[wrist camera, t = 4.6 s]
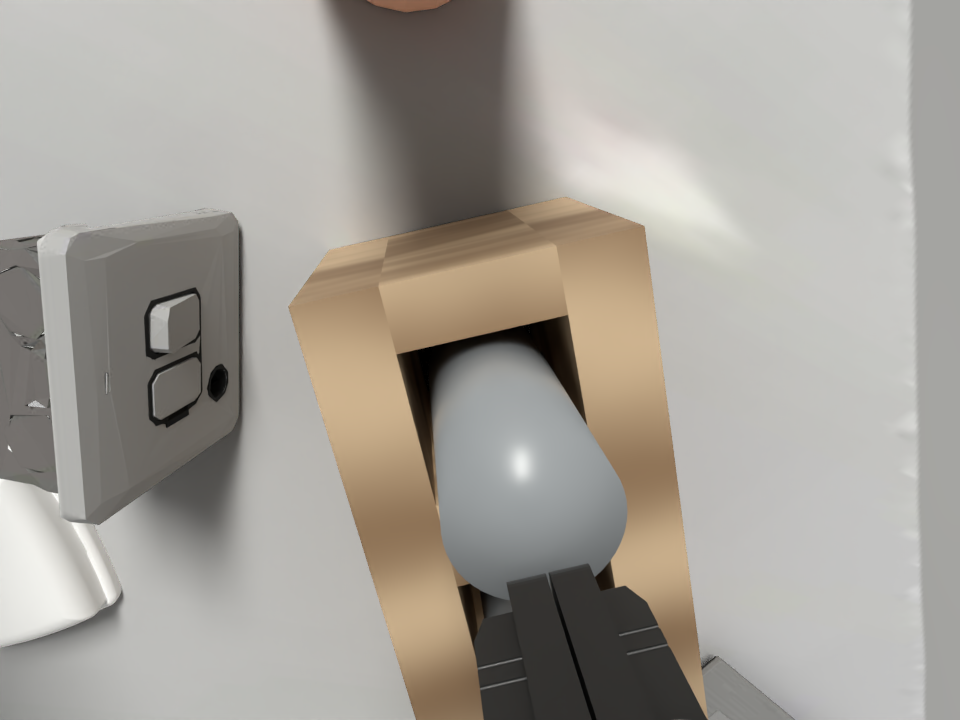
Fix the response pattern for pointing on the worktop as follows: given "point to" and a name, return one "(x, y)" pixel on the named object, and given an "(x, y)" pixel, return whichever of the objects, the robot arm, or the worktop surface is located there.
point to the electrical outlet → (735, 696)
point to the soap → (48, 566)
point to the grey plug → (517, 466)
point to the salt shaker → (409, 4)
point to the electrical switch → (117, 355)
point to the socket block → (408, 420)
